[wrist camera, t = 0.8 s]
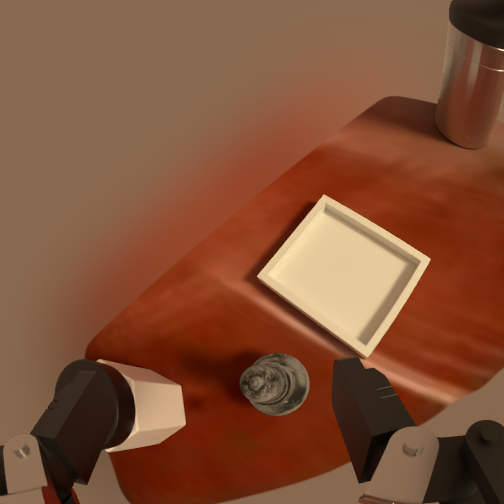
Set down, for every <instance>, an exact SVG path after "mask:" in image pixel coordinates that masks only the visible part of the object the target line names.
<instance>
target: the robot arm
mask: <svg viewBox="0 0 504 504" xmlns="http://www.w3.org/2000/svg"><path fill="white" fill-rule="evenodd" d="M503 99H504V0H453V1H452V2H451V4H450V8H449V23H448V35H447V45H446V54H445V61H444V68H443V75H442V81H441V87H440V94H439V98H438V104H437V109H436V114H435V123H436V125H437V127H438V129H439V131H440V132H441V133H442V134H443V135H444V136H445V137H446V138H447V139H449V140H450V141H452V142H453V143H455V144H457V145H459V146H462V147H465V148H470V149H478V148H482V147H483V146H485V145H486V144H487V142H488V140H489V137H490V135H491V132H492V129H493V127H494V124H495V122H496V119H497V116H498V114H499V111H500V108H501V105H502V102H503ZM332 405H333V410H334V413H335V416H336V419H337V421H338V424H339V427H340V430H341V433H342V436H343V439H344V441H345V444H346V447H347V450H348V453H349V456H350V459H351V462H352V465H353V468H354V471H355V474H356V476H357V479H358V482H359V483H364V482H367V481H370V483H369V485H368V487H367V489H366V491H365V493H364V494H363V496H362V497H360V499H359V500H358V502H357V503H356V504H422V503H423V504H424V503H434V502H439V504H504V427H503V426H502V425H501V424H499V423H497V422H495V421H492V420H482V421H478V422H476V423H474V424H473V425H471V427H470V428H469V429H468V431H467V433H466V435H463V436H455V437H445V438H439V437H436V436H435V435H434V433H432V432H431V431H429V430H428V429H425V428H422V427H417V426H416V425H415V423H414V421H413V420H412V418H411V416H410V415H409V413H408V411H407V410H406V408H405V407H404V405H403V403H402V402H401V400H400V399H399V397H398V396H397V395H396V392H395V390H394V389H393V387H391V384H390V383H389V381H388V379H387V378H386V376H385V375H384V374H382V373H381V372H379V371H378V370H376V369H375V368H369V369H365V368H364V366H363V365H362V363H361V361H360V359H359V358H358V357H357V356H354V357H348V358H342V359H336V360H335V361H334V366H333V383H332ZM115 416H116V410H115V405H114V402H113V400H112V397H111V395H110V393H109V390H108V388H107V385H106V383H105V380H104V378H103V375H102V374H101V373H100V372H92V371H80V372H79V373H78V374H77V375H76V377H75V378H74V379H73V381H72V382H71V383H69V384H68V385H66V386H65V387H64V388H62V389H61V390H60V391H59V392H58V393H57V395H56V396H55V398H54V399H53V402H51V403H50V405H49V406H48V409H46V410H45V412H44V414H43V415H42V417H41V418H40V419H39V421H38V422H37V424H36V425H35V427H34V428H33V430H32V431H31V433H30V434H19V435H16V436H14V437H12V438H11V439H9V440H8V441H7V443H6V444H5V446H0V504H80V503H79V500H78V498H77V495H76V493H75V491H74V489H73V488H72V487H73V484H74V482H75V483H79V484H84V485H87V484H88V481H89V479H90V477H91V474H92V472H93V469H94V467H95V465H96V462H97V460H98V457H99V455H100V453H101V450H102V448H103V446H104V443H105V441H106V439H107V436H108V434H109V432H110V429H111V427H112V425H113V423H114V420H115Z"/></svg>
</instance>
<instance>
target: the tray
mask: <svg viewBox="0 0 504 504" xmlns="http://www.w3.org/2000/svg"><path fill="white" fill-rule="evenodd" d="M430 260H431V259H430V258H428V257H427V256H425V255H424V254H422V253H421V252H419V251H417V250H416V249H414V248H413V247H411V246H410V245H408V244H407V243H405V242H403V241H402V240H400V239H399V238H397V237H395V236H394V235H392V234H391V233H389V232H387V231H386V230H384V229H382V228H381V227H379V226H377V225H376V224H374V223H372V222H371V221H369V220H367V219H366V218H364V217H362V216H361V215H359V214H357V213H355V212H354V211H352V210H350V209H349V208H347V207H345V206H343V205H341V204H340V203H338V202H336V201H334V200H333V199H331V198H329V197H327V196H325V195H323V196H322V198H321V199H320V200H319V201H318V203H317V204H316V205H315V206H314V208H313V209H312V210H311V211H310V212H309V214H308V215H307V216H306V217H305V219H304V220H303V221H302V222H301V223H300V225H299V226H298V227H297V228H296V230H295V231H294V232H293V233H292V234H291V236H290V237H289V238H288V239H287V240H286V242H285V243H284V244H283V245H282V247H281V248H280V249H279V250H278V251H277V253H276V254H275V255H274V256H273V257H272V259H271V260H270V261H269V262H268V263H267V265H266V266H265V267H264V268H263V269H262V271H261V272H260V273H259V274H258V275H257V277H258V279H259V280H260V281H261V283H263V284H264V285H265V286H267V287H268V288H269V289H271V290H272V291H273V292H275V293H276V294H277V295H279V296H280V297H281V298H283V299H284V300H285V301H287V302H288V303H289V304H291V305H292V306H293V307H295V308H296V309H297V310H299V311H300V312H301V313H303V314H304V315H306V316H307V317H308V318H310V319H311V320H312V321H314V322H315V323H316V324H318V325H319V326H320V327H322V328H323V329H325V330H326V331H327V332H329V333H330V334H331V335H333V336H334V337H335V338H337V339H338V340H340V341H341V342H342V343H344V344H345V345H346V346H348V347H349V348H351V349H352V350H353V351H355V352H356V353H357V354H359V355H360V356H362V357H363V358H364V359H367V358H368V356H369V355H370V354H371V352H372V351H373V350H374V348H375V347H376V345H377V344H378V343H379V341H380V340H381V338H382V337H383V335H384V334H385V332H386V331H387V330H388V328H389V327H390V325H391V324H392V322H393V321H394V319H395V318H396V316H397V315H398V313H399V311H400V310H401V308H402V307H403V305H404V304H405V302H406V300H407V299H408V297H409V296H410V294H411V292H412V291H413V289H414V287H415V286H416V284H417V282H418V281H419V279H420V277H421V276H422V274H423V272H424V270H425V269H426V267H427V265H428V263H429V261H430Z"/></svg>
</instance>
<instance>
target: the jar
mask: <svg viewBox="0 0 504 504" xmlns="http://www.w3.org/2000/svg"><path fill="white" fill-rule="evenodd" d="M80 371H92V372H100V373H101V374H102V375H103V378H104V380H105V383H106V385H107V388H108V390H109V393H110V395H111V397H112V400H113V402H114V405H115V410H116V416H115V420H114V423H113V425H112V427H111V429H110V432H109V434H108V436H107V439H106V441H105V443H104V446H103V448H102V450H105V451H107V452H113V451H120V450H126V449H132V448H138V447H144V446H149V445H154V444H159V443H160V442H162V441H163V440H165V439H166V438H168V437H169V436H171V435H172V434H173V433H175V432H176V431H178V430H179V429H181V428H182V427H183V426H185V425H186V420H185V413H184V405H183V397H182V389H181V385H179V384H177V383H175V382H173V381H171V380H169V379H167V378H165V377H163V376H161V375H159V374H158V373H156V372H154V371H152V370H150V369H144V368H139V367H134V366H129V365H124V364H120V363H115V362H111V361H106V360H102V359H99V360H97V361H96V362H95V361H91V360H85V359H81V360H76V361H74V362H72V363H70V364H69V365H68V366H66V367H65V368H64V370H63V371H62V373H61V374H60V376H59V378H58V381H57V383H56V387H55V395H54V398H55V396H56V395H57V393H58V392H59V391H60V390H61V389H62V388H64V387H65V386H66V385H68V384H69V383H71V382H72V381H73V379H74V378H75V377H76V375H77V374H78V373H79V372H80Z"/></svg>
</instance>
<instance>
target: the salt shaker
mask: <svg viewBox="0 0 504 504" xmlns="http://www.w3.org/2000/svg"><path fill="white" fill-rule="evenodd" d="M240 389H241V391H242V393H243V394H244V396H245V397H246V398H248V399H249V401H250V402H251V404H252V405H253V406H254V407H255V408H256V409H258V410H259V411H261V412H262V413H265V414H268V415H274V416H280V415H286V414H288V413H291V412H293V411H295V410H296V409H297V408H298V407H299V406H301V405H302V403H303V402H304V400H305V399H306V397H307V394H308V391H309V377H308V373H307V371H306V369H305V367H304V366H303V365H302V364H301V363H300V361H299V360H297V359H296V358H294V357H292V356H290V355H287V354H284V353H273V354H268V355H266V356H263V357H261V358H259V359H258V360H257V361H256V362H255V363H254V364H253V365H252V366H251V367H249V368H248V369H246V370H245V371H244V372H243V374H242V375H241V378H240Z"/></svg>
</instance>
